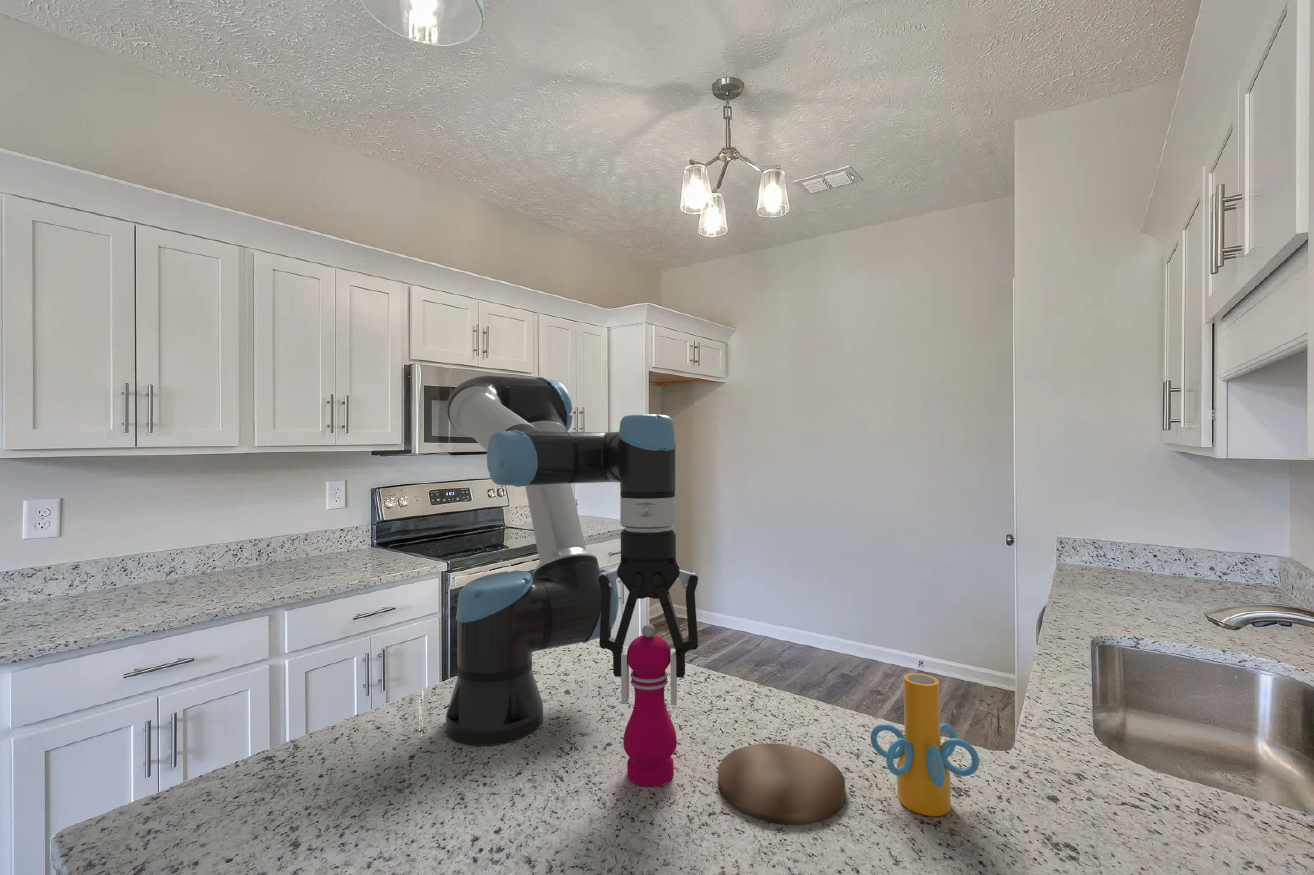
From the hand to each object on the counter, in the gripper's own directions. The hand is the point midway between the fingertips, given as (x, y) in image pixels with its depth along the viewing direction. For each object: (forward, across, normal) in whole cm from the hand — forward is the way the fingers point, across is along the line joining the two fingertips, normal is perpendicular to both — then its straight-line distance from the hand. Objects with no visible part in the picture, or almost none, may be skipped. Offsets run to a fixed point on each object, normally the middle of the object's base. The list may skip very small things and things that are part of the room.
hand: (649, 700), depth 79 cm
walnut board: (+10, +17, -2) cm, 20 cm away
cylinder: (+10, +34, -5) cm, 36 cm away
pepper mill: (+10, 0, 0) cm, 10 cm away
